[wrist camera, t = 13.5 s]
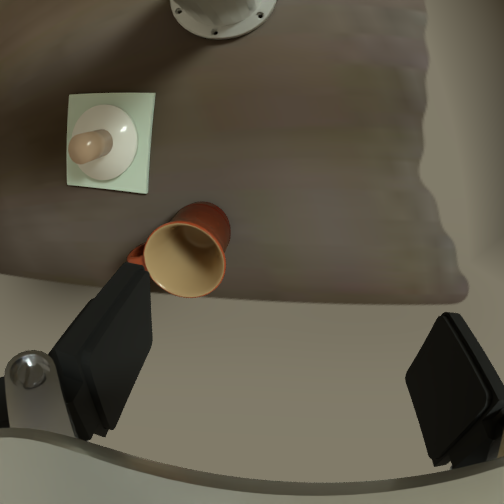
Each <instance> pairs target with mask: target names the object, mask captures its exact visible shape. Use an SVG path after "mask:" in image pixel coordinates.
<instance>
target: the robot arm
mask: <svg viewBox="0 0 504 504" xmlns="http://www.w3.org/2000/svg"><path fill="white" fill-rule="evenodd" d="M276 2H277V0H170V5H171V10H172V13H173V15H174V17H175V18H176V20H177V21H178V23H179V24H180V25H181V26H183V27H184V28H185V29H186V30H188V31H189V32H191V33H193V34H195V35H197V36H200V37H203V38H207V39H216V40H221V39H231V38H236V37H239V36H242V35H245V34H248V33H249V32H251V31H253V30H255V29H257V28H258V27H259V26H260V25H262V24H263V23H264V22H265V21H266V20H267V19H268V17H269V16H270V15H271V13H272V11H273V10H274V8H275V5H276ZM180 11H182V13H180V14H179V12H180ZM259 15H262V16H263V17H262V18H259V17H258V16H259ZM215 32H218V34H217V35H214V33H215ZM151 345H152V321H151V301H150V273H149V271H145V268H144V266H143V265H139V264H134V263H129V262H125V263H124V264H123V265H122V266H121V267H120V268H119V269H118V270H117V272H116V273H115V274H114V275H113V276H112V278H111V279H110V280H109V281H108V282H107V284H106V285H105V286H104V287H103V288H102V290H101V291H100V292H99V293H98V294H97V296H96V297H95V298H93V299H91V300H90V301H89V302H88V303H87V305H86V306H85V307H84V308H83V310H82V311H81V312H80V313H79V315H78V316H77V317H76V318H75V320H74V321H73V322H72V323H71V325H70V326H69V327H68V329H67V330H66V331H65V333H64V334H63V335H62V336H61V338H60V339H59V341H58V342H57V343H56V344H55V346H54V347H53V348H52V350H51V351H50V352H49V354H48V355H47V354H46V353H44V352H42V351H36V350H31V351H25V352H22V353H19V354H18V355H16V356H14V357H13V358H12V359H11V360H10V361H9V362H8V364H7V366H6V369H5V375H4V377H1V378H0V504H504V385H503V383H502V381H501V380H500V378H499V376H498V374H497V372H496V371H495V369H494V367H493V366H492V364H491V362H490V360H489V359H488V357H487V356H486V354H485V352H484V351H483V349H482V347H481V346H480V344H479V342H478V341H477V339H476V338H475V336H474V335H473V333H472V332H471V330H470V328H469V327H468V325H467V324H466V322H465V321H464V319H463V318H462V317H461V315H460V314H458V313H450V312H445V313H443V314H442V315H441V316H439V317H438V318H437V320H436V322H435V323H434V325H433V327H432V329H431V331H430V333H429V335H428V336H427V338H426V340H425V342H424V344H423V345H422V347H421V349H420V351H419V352H418V354H417V356H416V358H415V359H414V361H413V363H412V364H411V366H410V367H409V369H408V371H407V373H406V377H405V380H406V384H407V387H408V390H409V393H410V396H411V399H412V402H413V405H414V408H415V411H416V415H417V418H418V421H419V424H420V428H421V431H422V434H423V438H424V441H425V445H426V448H427V452H428V455H429V457H430V458H431V459H432V461H433V464H434V467H436V466H441V465H446V464H447V463H449V462H450V461H451V463H452V466H451V467H450V470H448V471H443V472H437V473H432V474H426V475H420V476H413V477H405V478H397V479H388V480H378V481H365V482H346V483H345V482H343V483H305V482H304V483H303V482H283V481H268V480H258V479H249V478H240V477H233V476H226V475H219V474H213V473H207V472H202V471H197V470H192V469H187V468H181V467H177V466H173V465H168V464H163V463H160V462H155V461H152V460H148V459H144V458H140V457H136V456H133V455H130V454H126V453H123V452H120V451H117V450H113V449H110V448H107V447H103V446H100V445H96V444H93V443H90V442H88V440H90V439H91V438H92V436H93V434H97V435H100V436H102V437H106V434H107V432H108V430H109V429H110V430H113V429H114V428H115V427H116V424H117V422H118V420H119V418H120V415H121V413H122V411H123V408H124V406H125V404H126V402H127V399H128V397H129V395H130V393H131V390H132V388H133V386H134V384H135V381H136V379H137V377H138V375H139V372H140V370H141V368H142V366H143V364H144V361H145V359H146V357H147V355H148V353H149V351H150V348H151Z"/></svg>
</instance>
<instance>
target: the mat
mask: <svg viewBox="0 0 504 504" xmlns="http://www.w3.org/2000/svg"><path fill="white" fill-rule="evenodd" d="M155 95H156V93H91V94H73V95H69V104H68V121H67V185H75V186H84V187H94V188H103V189H111V190H120V191H128V192H136V193H144V194H147V193H148V179H149V161H150V146H151V134H152V123H153V113H154V103H155ZM105 104H109V105H115V106H118V107H120V108H122V109H124V110H125V111H126V112H127V113H128V114H129V115H130V116H131V118H132V119H133V121H134V123H135V125H136V128H137V132H138V150H137V154H136V157H135V159H134V161H133V163H132V164H131V166H130V167H129V168H128V169H127V170H126V171H125V172H124V173H122V174H121V175H119V176H117V177H115V178H113V179H109V180H97V179H94V178H91V177H89V176H88V175H86V174H85V173H84V172H83V171H82V170H81V169H80V168H79V166H78V165H77V164H76V163H75V162H73V161H72V160H71V158H70V156H69V152H68V146H69V142H70V140H71V138H72V132H73V129H74V126H75V124H76V122H77V120H78V119H79V118H80V116H81V115H82V114H83V113H84V112H85V111H87V110H88V109H90V108H92V107H94V106H97V105H105Z"/></svg>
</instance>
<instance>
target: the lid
mask: <svg viewBox="0 0 504 504" xmlns="http://www.w3.org/2000/svg"><path fill="white" fill-rule="evenodd" d="M137 150H138V132H137V128H136V125H135V123H134V121H133V119H132V118H131V116H130V115H129V114H128V113H127V112H126V111H125V110H124V109H122V108H120V107H118V106H115V105H109V104H105V105H97V106H94V107H92V108H90V109H88V110H87V111H85V112H84V113H83V114H82V115H81V116H80V118H79V119H78V120H77V122H76V124H75V126H74V129H73V132H72V138H71V140H70V142H69V146H68V152H69V156H70V158H71V160H72V161H73V162H75V163H76V164H77V165H78V166H79V168H80V169H81V170H82V171H83V172H84V173H85V174H86V175H88V176H89V177H91V178H94V179H97V180H109V179H113V178H115V177H117V176H119V175H121V174H122V173H124V172H125V171H126V170H127V169H128V168H129V167H130V166H131V164H132V163H133V161H134V159H135V157H136V154H137Z"/></svg>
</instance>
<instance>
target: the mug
mask: <svg viewBox="0 0 504 504" xmlns="http://www.w3.org/2000/svg"><path fill="white" fill-rule="evenodd" d="M230 232H231V230H230V224H229V220H228V218H227V216H226V214H225V213H224V212H223V211H222V210H221V209H220V208H219V207H218V206H216V205H214V204H212V203H209V202H195V203H192V204H190V205H187V206H185V207H184V208H182V209H181V210H180V211H178V213H177V214H176V215H175V217H174V218H173V219H172V220H171V222H169V223H166V224H163V225H161V226H160V227H158V228H157V229H155V230H154V231H153V232H152V233H151V235H150V236H149V237H148V239H147V241H146V242H144V243H142V244H141V245H139V246H137V247H136V248H135V249H133V250H132V251H131V252H130V253H129V254H128V256H127V262H129V263H134V264H139V265H143V266H144V268H145V271H149V273H150V277H151V278H152V280H153V281H154V282H155V283H156V284H157V285H159V286H160V287H161V288H162V289H164V290H165V291H167V292H169V293H171V294H173V295H176V296H179V297H184V298H196V297H201V296H204V295H207V294H209V293H211V292H212V291H213V290H215V289H216V288H217V287H218V286H219V284H220V283H221V281H222V280H223V277H224V274H225V270H226V259H225V255H224V253H225V251H226V248H227V246H228V244H229V241H230Z"/></svg>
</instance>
